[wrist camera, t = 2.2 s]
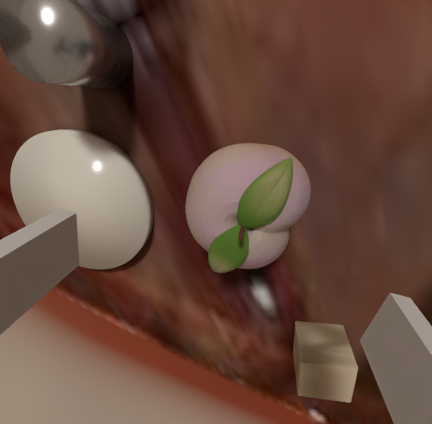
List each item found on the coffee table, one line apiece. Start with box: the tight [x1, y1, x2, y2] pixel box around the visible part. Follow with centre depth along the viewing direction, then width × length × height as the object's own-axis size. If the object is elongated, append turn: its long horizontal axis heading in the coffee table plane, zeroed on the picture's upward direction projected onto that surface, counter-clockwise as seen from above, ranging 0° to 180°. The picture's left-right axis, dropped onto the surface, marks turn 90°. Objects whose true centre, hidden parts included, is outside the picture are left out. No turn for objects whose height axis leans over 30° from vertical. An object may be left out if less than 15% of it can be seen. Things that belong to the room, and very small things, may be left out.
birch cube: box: [293, 321, 358, 403], centre depth 27 cm, size 5×5×5 cm
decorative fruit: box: [186, 143, 311, 273], centre depth 18 cm, size 9×8×10 cm
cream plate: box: [11, 129, 154, 269], centre depth 26 cm, size 15×15×2 cm
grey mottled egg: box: [0, 0, 133, 89], centre depth 18 cm, size 5×5×7 cm
